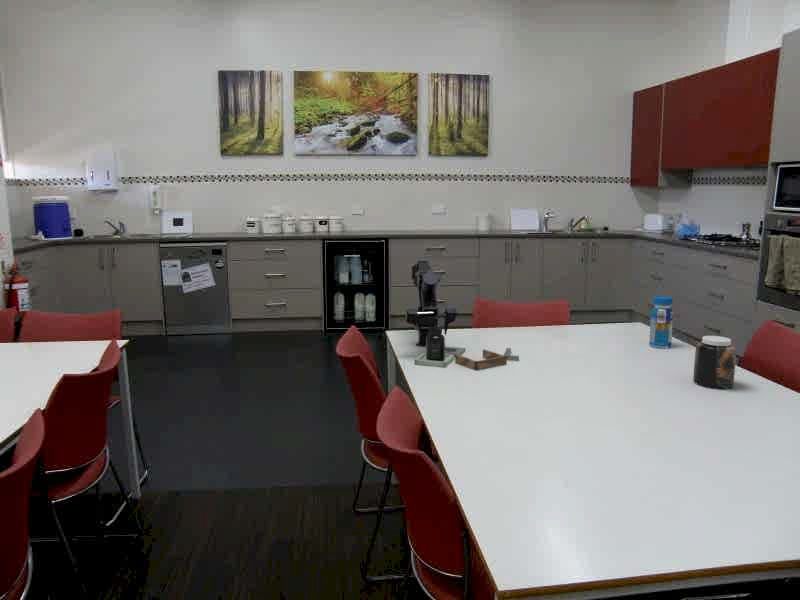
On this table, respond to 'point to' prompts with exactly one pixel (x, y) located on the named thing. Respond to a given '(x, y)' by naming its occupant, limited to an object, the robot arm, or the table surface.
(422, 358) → the tray
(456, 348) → the hole plate
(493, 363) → the u-shaped bracket
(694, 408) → the table surface
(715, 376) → the jar
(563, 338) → the table surface
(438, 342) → the supplement bottle
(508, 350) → the crook tool
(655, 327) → the beverage bottle
